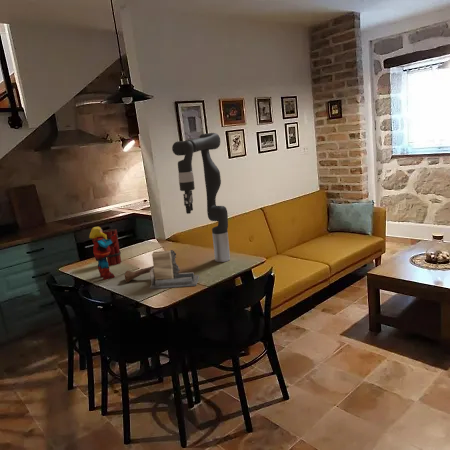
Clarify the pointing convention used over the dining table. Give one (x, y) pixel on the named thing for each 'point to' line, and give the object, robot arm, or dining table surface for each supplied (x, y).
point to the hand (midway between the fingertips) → (189, 212)
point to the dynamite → (113, 248)
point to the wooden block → (162, 265)
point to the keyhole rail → (174, 280)
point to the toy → (102, 250)
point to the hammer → (132, 275)
